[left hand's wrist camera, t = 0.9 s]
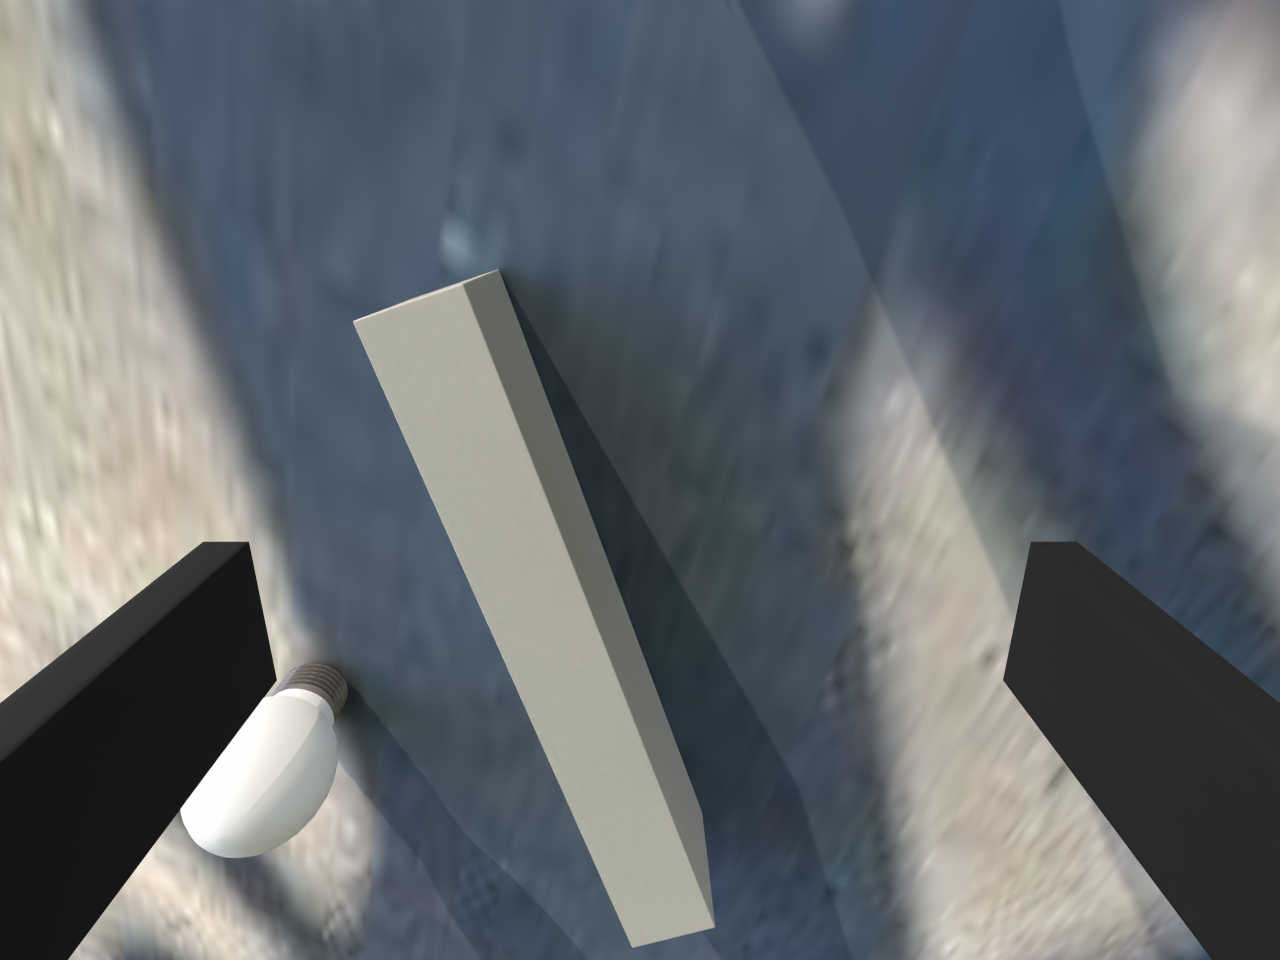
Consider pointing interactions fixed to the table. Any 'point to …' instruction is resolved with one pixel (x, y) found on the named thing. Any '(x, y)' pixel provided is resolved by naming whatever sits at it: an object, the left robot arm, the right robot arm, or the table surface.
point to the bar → (546, 592)
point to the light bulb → (271, 768)
